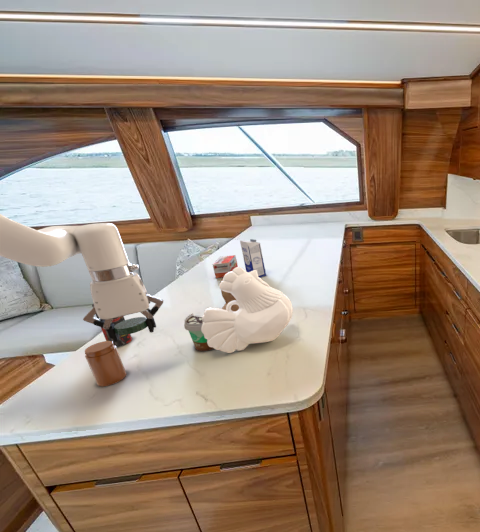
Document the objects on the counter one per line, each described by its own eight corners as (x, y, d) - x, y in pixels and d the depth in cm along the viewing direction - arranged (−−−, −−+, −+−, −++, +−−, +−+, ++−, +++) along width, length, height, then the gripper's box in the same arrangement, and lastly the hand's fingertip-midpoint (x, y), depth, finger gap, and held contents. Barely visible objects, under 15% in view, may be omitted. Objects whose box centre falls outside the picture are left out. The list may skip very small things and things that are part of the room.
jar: (95, 389, 78) (80, 356, 75) (99, 377, 83) (86, 345, 79) (125, 380, 81) (112, 347, 78) (128, 369, 86) (115, 337, 83)
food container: (181, 349, 95) (172, 322, 91) (198, 339, 100) (191, 313, 97) (210, 356, 91) (203, 327, 88) (227, 345, 97) (220, 317, 93)
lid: (149, 320, 84) (148, 314, 83) (147, 329, 79) (145, 323, 78) (117, 327, 80) (115, 321, 80) (113, 338, 75) (111, 331, 74)
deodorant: (129, 344, 98) (114, 303, 94) (105, 349, 96) (88, 308, 91) (133, 335, 103) (119, 296, 98) (111, 341, 101) (95, 301, 96)
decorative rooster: (300, 304, 109) (245, 256, 100) (302, 315, 94) (238, 261, 86) (248, 356, 104) (186, 311, 96) (242, 377, 90) (168, 325, 81)
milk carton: (247, 276, 157) (239, 240, 151) (259, 273, 162) (252, 237, 156) (254, 279, 153) (246, 241, 146) (266, 275, 158) (259, 239, 151)
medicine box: (222, 269, 169) (219, 256, 167) (238, 267, 171) (235, 254, 169) (215, 278, 156) (211, 264, 153) (232, 276, 158) (229, 262, 155)
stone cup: (249, 318, 114) (241, 281, 109) (215, 321, 112) (206, 284, 107) (259, 301, 128) (252, 268, 123) (229, 304, 126) (221, 271, 121)
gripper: (156, 262, 82) (174, 319, 88) (67, 277, 73) (94, 339, 78) (154, 269, 76) (174, 330, 82) (57, 286, 67) (87, 353, 73)
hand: (135, 334), depth 80 cm, fingers closed on lid, 6 cm apart
